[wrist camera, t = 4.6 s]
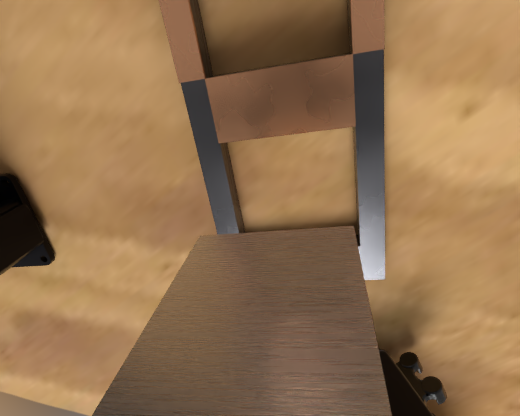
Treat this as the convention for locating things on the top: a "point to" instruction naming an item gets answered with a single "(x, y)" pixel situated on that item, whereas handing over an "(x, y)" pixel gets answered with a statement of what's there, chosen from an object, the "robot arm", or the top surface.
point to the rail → (288, 112)
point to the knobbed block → (258, 333)
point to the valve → (425, 387)
